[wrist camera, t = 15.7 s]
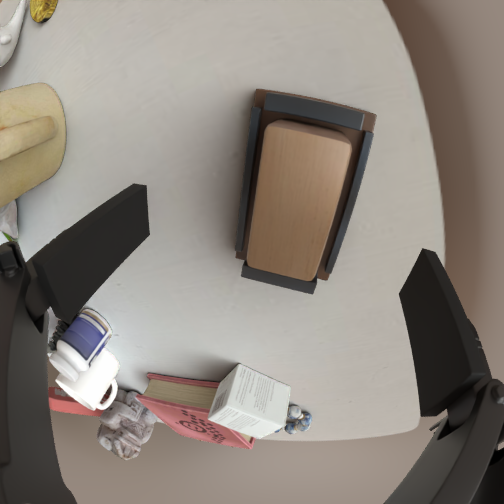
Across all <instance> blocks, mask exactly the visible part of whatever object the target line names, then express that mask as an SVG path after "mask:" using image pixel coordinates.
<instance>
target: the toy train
mask: <svg viewBox="0 0 504 504" xmlns="http://www.w3.org/2000/svg"><path fill="white" fill-rule="evenodd" d="M77 317H78V316H77V315H76V316H74V318H73V319H72V320H71V321H70V323H69V324H68V323H66V322H64V321H58V324H59V325H60V326H56V329H57V330H58V332H55V333H53V335H54V337H52V339H53V340H54V341H53V343H52V342H50V344H51V345H52V346H51V345H49V347H50V350H52V351H55V350H56V351H57V342H58V340H59V339H60V338H61V337H62V335H63V334H64V333H65V332H66V330H67V329H68V328H69V327H70V325H71V324H72V323H73V322H74V321H75V319H76V318H77Z"/></svg>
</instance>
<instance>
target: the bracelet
mask: <svg viewBox="0 0 504 504" xmlns="http://www.w3.org/2000/svg"><path fill="white" fill-rule="evenodd" d="M287 416H288V417H289V418H291V419H296V418H298V421H299V422H298V424H296V423H288V424H287V425H286V426H284V427H282V428H280V429H278V430H276V431H275V433H276V432H279V431H280V430H281V429H282V430H283V431H284V430H285V431H287V433H289V434H294V433H296V432H297V431H298V430H300V431H307V430H308V429H309V428H310V423H311V421H312V416H311V415H310V414H309V413H301V409H300V408H299V407H298V406H290V407H289V408H288V411H287Z"/></svg>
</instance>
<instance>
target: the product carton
mask: <svg viewBox="0 0 504 504" xmlns="http://www.w3.org/2000/svg"><path fill="white" fill-rule="evenodd" d="M290 391H291V387H290V386H288V385H286V384H283V383H281V382H279V381H276V380H274V379H272V378H270V377H268V376H265V375H263V374H261V373H259V372H257V371H254V370H252V369H250V368H248V367H246V366H244V365H242V364H238V365H237V366H236V367H235V368H234V369H233V370H232V371H231V372H230V373H229V374H228V375H227V376H226V377H225V378H224V379H223V380H222V381H221V382H220V384H219V386H218V389H217V392H216V395H215V398H214V400H213V403H212V406H211V409H210V412H209V415H208V420H210V421H212V422H215V423H217V424H220V425H222V426H225V427H227V428H230V429H232V430H235V431H238V432H240V433H243V434H246V435H249V436H252V437H255V438H258V439H259V438H262V437H264V436H266V435H269V434H272V433H273V432H275V431H276V430H278V429H280V428H282V427H284V426H285V424H286V417H287V411H288V404H289V398H290Z"/></svg>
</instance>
